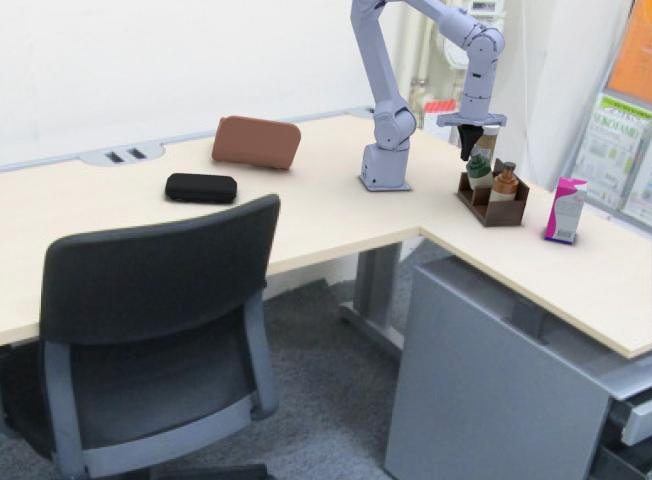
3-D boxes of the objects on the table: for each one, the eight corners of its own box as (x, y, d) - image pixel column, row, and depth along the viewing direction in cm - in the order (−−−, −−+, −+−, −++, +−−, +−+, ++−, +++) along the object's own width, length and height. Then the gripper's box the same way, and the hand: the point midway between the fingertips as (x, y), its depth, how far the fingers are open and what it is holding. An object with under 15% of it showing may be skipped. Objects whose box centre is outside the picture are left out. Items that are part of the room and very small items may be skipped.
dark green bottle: (477, 201, 190) (467, 158, 183) (468, 191, 194) (458, 149, 187) (499, 191, 189) (490, 148, 183) (490, 182, 193) (480, 139, 187)
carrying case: (237, 185, 191) (168, 181, 190) (237, 171, 189) (168, 167, 188) (236, 206, 182) (164, 202, 181) (236, 192, 180) (163, 187, 179)
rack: (485, 226, 183) (493, 188, 178) (456, 194, 195) (464, 158, 190) (520, 225, 184) (530, 188, 179) (490, 193, 197) (498, 157, 192)
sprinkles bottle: (491, 183, 202) (504, 124, 194) (479, 187, 199) (492, 128, 191) (475, 176, 204) (487, 118, 196) (463, 180, 202) (475, 122, 194)
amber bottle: (492, 217, 183) (503, 168, 177) (482, 207, 187) (493, 159, 181) (514, 216, 185) (526, 168, 178) (505, 206, 188) (516, 159, 182)
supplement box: (574, 233, 183) (589, 180, 176) (572, 245, 178) (587, 191, 172) (546, 227, 184) (560, 175, 177) (543, 239, 180) (557, 185, 173)
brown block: (281, 191, 199) (304, 129, 190) (207, 167, 196) (227, 103, 187) (283, 164, 212) (304, 104, 203) (213, 140, 209) (232, 79, 200)
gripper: (450, 100, 173) (438, 167, 181) (518, 100, 176) (504, 166, 184) (437, 89, 179) (426, 154, 187) (504, 89, 182) (490, 153, 190)
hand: (464, 159), depth 186 cm, fingers closed
